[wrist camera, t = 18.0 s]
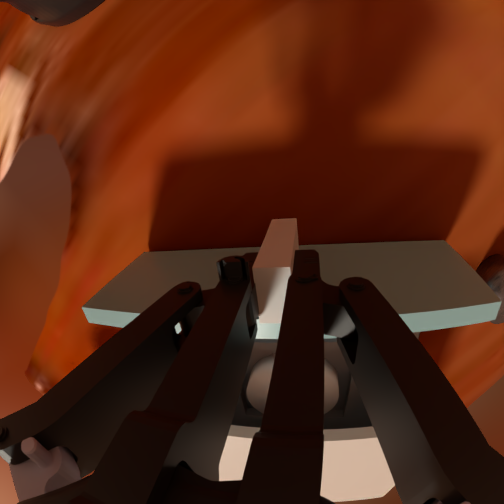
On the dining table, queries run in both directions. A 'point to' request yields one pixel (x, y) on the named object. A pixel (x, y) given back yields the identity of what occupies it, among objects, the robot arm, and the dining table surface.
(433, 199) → the dining table surface
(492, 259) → the grey knob
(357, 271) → the drawer
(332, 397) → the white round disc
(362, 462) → the white drawer box
